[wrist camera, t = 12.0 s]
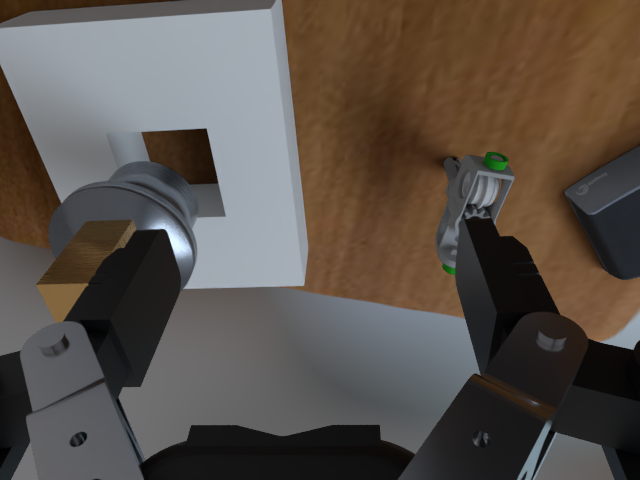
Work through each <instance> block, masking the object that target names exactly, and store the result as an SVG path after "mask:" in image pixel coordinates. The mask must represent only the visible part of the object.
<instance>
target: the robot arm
mask: <svg viewBox="0 0 640 480" xmlns="http://www.w3.org/2000/svg"><path fill="white" fill-rule="evenodd" d="M455 278H456V286H457V290H458V294H459V297H460V301H461V305H462V308H463V312H464V316H465V319H466V323H467V327H468V330H469V334H470V338H471V341H472V345H473V349H474V352H475V356H476V360H477V363H478V367H479V371H480V374H481V376H480V375H478V374H473V375H472V376H471V377H470V378H469V379H468V381H467V382H466V384H465V385H464V386H463V388H462V389H461V391H460V392H459V393H458V395H457V396H456V398H455V399H454V400H453V402H452V403H451V405H450V406H449V408H448V409H447V410H446V412H445V413H444V415H443V416H442V418H441V419H440V420H439V422H438V423H437V425H436V426H435V428H434V429H433V430H432V432H431V433H430V435H429V436H428V438H427V439H426V440H425V442H424V443H423V445H422V446H421V447H420V449H419V450H418V452H417V453H416V454H414V453H412V452H410V451H409V450H407V449H405V448H403V447H401V446H398V445H396V444H393V443H390V442H387V441H383V440H381V438H380V425H331V426H326V427H322V428H318V429H314V430H310V431H306V432H301V433H297V434H293V435H289V436H277V435H273V434H269V433H265V432H261V431H257V430H253V429H249V428H245V427H241V426H237V425H192V426H191V428H190V431H189V435H188V438H187V441H184V442H181V443H178V444H175V445H172V446H170V447H168V448H166V449H164V450H162V451H160V452H158V453H156V454H154V455H153V456H151V457H150V458H148V459H147V460H145V458H144V456H143V453H142V451H141V449H140V446H139V444H138V442H137V439H136V437H135V435H134V432H133V430H132V427H131V425H130V423H129V420H128V418H127V416H126V413H125V411H124V409H123V406H122V404H121V402H120V400H119V397H118V396H119V394H120V392H121V390H122V388H123V387H140V386H141V384H142V382H143V379H144V377H145V374H146V372H147V370H148V368H149V365H150V362H151V360H152V358H153V355H154V353H155V351H156V348H157V346H158V344H159V341H160V339H161V336H162V334H163V332H164V329H165V327H166V324H167V322H168V320H169V317H170V315H171V312H172V310H173V308H174V305H175V303H176V300H177V298H178V295H179V293H180V288H181V276H180V271H179V268H178V264H177V261H176V258H175V254H174V251H173V248H172V245H171V241H170V238H169V235H168V233H167V231H166V230H165V229H143V230H136V231H135V232H134V233H133V234H132V236H131V238H130V239H129V241H128V242H127V244H126V246H125V247H124V248H118V249H117V250H115V251H114V252H113V253H112V254H110V255H109V256H108V257H106V258H105V259H104V260H103V261H102V263H101V264H100V266H99V267H98V269H97V271H96V272H95V275H93V277H92V278H91V280H90V281H89V283H88V286H86V287H85V289H84V290H83V292H82V293H81V295H80V296H79V298H78V299H77V301H76V302H75V304H74V305H73V307H72V308H71V310H70V311H69V313H68V314H67V316H66V317H65V319H64V321H63V322H58V323H55V324H52V325H49V326H47V327H45V328H43V329H41V330H39V331H38V332H36V333H35V334H33V335H32V336H31V337H30V338H29V339H28V340H27V341H26V342H25V344H24V345H23V347H22V349H21V351H18V352H14V353H10V354H6V355H2V356H0V480H11V478H12V476H13V474H14V472H15V470H16V469H17V467H18V465H19V462H20V461H21V459H22V457H23V455H24V453H25V451H26V449H27V447H28V445H29V443H30V441H31V446H32V450H33V455H34V460H35V464H36V469H37V474H38V479H39V480H535V478H536V476H537V474H538V472H539V469H540V468H541V465H542V463H543V461H544V459H545V457H546V455H547V453H548V451H549V449H550V447H551V445H552V443H553V441H554V439H555V437H556V435H557V433H561V434H564V435H568V436H571V437H575V438H578V439H582V440H586V441H589V442H593V443H596V444H600V445H602V448H603V451H604V453H605V456H606V459H607V461H608V464H609V466H610V469H611V471H612V474H613V477H614V479H615V480H640V341H638V342H637V344H636V346H635V348H634V350H631V349H627V348H622V347H617V346H613V345H608V344H603V343H600V342H596V341H593V340H591V339H588V338H587V336H586V333H585V332H584V331H583V329H582V328H581V327H580V326H579V325H578V324H576V323H575V322H574V321H572V320H570V319H569V318H566V317H564V316H562V315H560V313H559V311H558V309H557V307H556V305H555V303H554V301H553V299H552V297H551V295H550V293H549V291H548V289H547V287H546V285H545V283H544V281H543V279H542V277H541V275H539V271H538V269H537V267H536V265H535V264H534V261H533V259H532V257H531V255H530V253H529V251H528V249H527V248H526V247H525V246H524V245H523V244H522V243H520V242H519V241H518V240H517V239H516V238H514V237H513V236H501V237H500V236H499V233H498V231H497V229H496V226H495V224H494V222H493V220H492V219H491V218H476V219H462V220H461V222H460V228H459V237H458V246H457V255H456V264H455Z"/></svg>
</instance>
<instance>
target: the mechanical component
mask: <svg viewBox="0 0 640 480" xmlns="http://www.w3.org/2000/svg"><path fill="white" fill-rule="evenodd" d="M507 163H508V158H507V157H506V156H504V155H502V154H500V153H496V152H487V153H486V156H485V157H480V156H474V155H466V156H465V157H464V159H463V161H462V162H461V160H460V159H456V161H454V160H453V159H452V158H450V157H448V158H447V159H446V160H445V161H444V169H445V172H446V174H447V177H448V180H449V183H448V185H447V188H446V194H447V197H448V198H449V199H448V202H447V205H446V207H445V210H444V213H443V215H442V218H441V221H440V224H439V226H438V229H437V233H436V249H437V253H438V257H439V259H440V261H441V262H442V263H443V265H442V267H443V269H444V270H445V271H446V272H447V273H449V274H453V275H455V264H456V255H457V246H458V237H459V228H460V222H461V220H462V219H476V218H491V219H492V220H493V222H494V224H495V225H496V219H497V216H498V214H499V212H500V210H501V207H502V205H503V203H504V201H505V198H506V196H507V194H508V192H509V189H510V187H511V185H512V183H513V180H514V178H515V176H514V174H513V172H512V170H511V169H510V167H509V166H507ZM499 178H501V179H502V187H501V192H500V195H499V197H498V199H497V201H496V202H495V203H493V201H494V200H495V198H496V196H497V194H498V191H499V184H500V183H499Z"/></svg>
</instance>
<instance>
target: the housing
mask: <svg viewBox="0 0 640 480" xmlns="http://www.w3.org/2000/svg"><path fill="white" fill-rule="evenodd" d="M0 65H1V67H2V70H3V72H4V74H5V76H6V79H7V81H8V83H9V86H10V88H11V90H12V92H13V95H14V97H15V99H16V101H17V104H18V106H19V108H20V111H21V113H22V115H23V117H24V120H25V122H26V124H27V126H28V129H29V131H30V133H31V135H32V138H33V140H34V142H35V145H36V147H37V149H38V151H39V154H40V156H41V158H42V160H43V163H44V165H45V167H46V170H47V172H48V174H49V176H50V179H51V181H52V183H53V185H54V188H55V190H56V192H57V194H58V197H59V199H60V201H61V203H62V202H63V201H64V200H65V199H66V198H67V197H68V196H69V195H70V194H71V193H72V192H74V191H75V190H77V189H78V188H80V187H82V186H85V185H87V184H90V183H95V182H101V181H108V180H109V178H110V177H111V176H112V175H113V174H114V172H115V171H116V170H118V169H119V168H120V167H122V166H123V165H126V164H128V163H132V162H138V161H148V162H150V160H149V156H148V153H147V150H146V146H145V143H144V140H143V136H142V133H141V132H146V131H165V130H184V129H204V128H207V132H208V137H209V141H210V146H211V151H212V155H213V160H214V164H215V169H216V173H217V178H218V183H216V184H193V185H190V186H191V187H192V189H193V191H194V193H195V195H196V198H197V201H198V216H197V220H196V222H195V224H194V226H193V228H192V231H193V233H194V236H195V239H196V243H197V261H196V264H195V267H194V270H193V272H192V275H191V277H190V279H189V281H188V283H187V285H186V286H185V287H184V288H183V289H193V288H231V287H232V288H234V287H273V286H304V282H305V273H306V264H307V255H308V241H307V232H306V222H305V213H304V204H303V195H302V185H301V176H300V167H299V157H298V148H297V139H296V130H295V120H294V111H293V102H292V93H291V83H290V74H289V65H288V55H287V46H286V37H285V28H284V18H283V9H282V0H183V1H169V2H155V3H142V4H128V5H115V6H101V7H87V8H74V9H60V10H47V11H33V12H28V13H26V14H23V15H21V16H18V17H15V18H13V19H10V20H7V21H5V22H2V23H0Z"/></svg>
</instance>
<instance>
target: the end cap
mask: <svg viewBox="0 0 640 480" xmlns="http://www.w3.org/2000/svg"><path fill="white" fill-rule="evenodd" d="M197 216H198V201H197V198H196V195H195V193H194V191H193V189H192V187H191V186H190V185H189V183H188V182H187V181H186V180H185V179H184V178H183V177H182V176H181V175H180V174H178V173H177V172H175V171H174V170H172V169H170V168H168V167H166V166H164V165H161V164H158V163H154V162H148V161H138V162H132V163H128V164H126V165H123V166H122V167H120V168H119V169H118V170H116V171H115V172H114V174H113V175H112V176H111V177H110V178H109V180H108V181H101V182H95V183H90V184H87V185H85V186H82V187H80V188H78V189H77V190H75V191H74V192H72V193H71V194H70V195H69V196H68V197H67V198H66V199H65V200H64V201H63V202H62V203H61V205H60V206H59V207H58V208H57V209H56V211H55V212H54V214H53V216H52V218H51V220H50V224H49V232H48V233H49V242H50V246H51V249H52V251H53V254H54V256H55V258H56V260H55V261H54V262H53V264H52V265H51V266H50V268H49V269H48V270H47V271H46V273H45V274H44V275H43V276H42V278H41V279H40V280H39V281H38V283H37V284H36V286H37V288H38V290H39V292H40V293H41V295H42V297H43V299H44V301H45V303H46V304H47V306H48V308H49V310H50V312H51V314H52V316H53V317H54V320H55V321H56V323H58V322H63V321H64V319H65V317H66V316H67V314H68V313H69V311H70V310H71V308H72V307H73V305H74V304H75V302H76V301H77V299H78V298H79V296H80V295H81V293H82V292H83V290H84V289H85V287H86V286H88V283H89V281H90V280H91V278H92V277H93V275H95V272H96V271H97V269H98V267H99V266H100V264H101V263H102V261H103V260H104V259H105V258H106V257H108V256H109V255H110V254H112V253H113V252H114V251H115V250H117V249H118V248H124V247H125V246H126V244H127V242H128V241H129V239H130V238H131V236H132V234H133V233H134V232H135V231H136V230H143V229H165V230H166V231H167V233H168V235H169V238H170V241H171V245H172V248H173V251H174V254H175V258H176V261H177V264H178V268H179V271H180V276H181V288H180V291H181V290H183V288H184V287H185V286H186V285H187V283H188V281H189V279H190V277H191V275H192V272H193V270H194V267H195V264H196V261H197V243H196V239H195V236H194V233H193V231H192V228H193V226H194V224H195V222H196V220H197Z"/></svg>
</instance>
